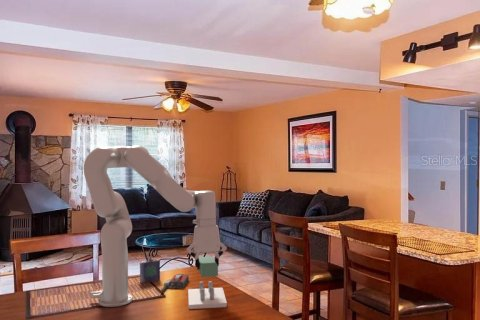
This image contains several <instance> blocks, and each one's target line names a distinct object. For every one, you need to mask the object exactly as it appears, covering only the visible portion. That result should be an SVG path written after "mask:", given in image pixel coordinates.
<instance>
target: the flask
mask: <svg viewBox="0 0 480 320" xmlns="http://www.w3.org/2000/svg"><path fill="white" fill-rule="evenodd" d="M160 280H161V260H160V259H156V258H154V259H153V258H151V256H148V257H147V261H141V262H139V282H140V283H141V284H144V283H151V282H155V281H160Z"/></svg>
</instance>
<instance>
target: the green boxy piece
mask: <svg viewBox="0 0 480 320" xmlns="http://www.w3.org/2000/svg"><path fill="white" fill-rule="evenodd" d="M198 258H199V270H198V272H199V274H200V276H201V277H202V278H210V277H219V266H218V265H217V263H216V262H215V258H213V257H212V256H198Z"/></svg>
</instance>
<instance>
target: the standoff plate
mask: <svg viewBox="0 0 480 320" xmlns="http://www.w3.org/2000/svg"><path fill="white" fill-rule="evenodd" d="M198 283H199V288H188V291H187V293H188V294H187V295H188V296H187V297H188V310H192V309H196V310H197V309H212V308H214V309H216V308H227V307H228V306H227V305H228V302H227V299H226V296H225V292H224V288H223V287H213V280H212V281H211V280H210V281H208V288H206V287H205V288H204V281H199V282H198Z"/></svg>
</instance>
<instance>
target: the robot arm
mask: <svg viewBox="0 0 480 320" xmlns="http://www.w3.org/2000/svg"><path fill="white" fill-rule="evenodd" d="M116 168H130V169H132V170H133V171H134V172H136V174H138V175H139V176H140V177H141V178H143V180H145V181H146V182H147V183H148V184H149V185H151V186H152V188H153V189H154V190H155V191H156V192H157V193H159V195H160V196H162V198H164V200H165V201H167V202H168V203H169V204H170V205H171V206H173V207H174V208H175V209H176V210H178V211H180V212H183V213H186V212H190V211H191V210H193V209H195V212H196V219H193V220H192V224H195V226H194V231H193V241H192V243H191V244H190V245H189V246H188V247H187V248H186V252H187V253H188V254H189V255H190V256H192V258H194V262H195V268H196V269H197V271H199V258H198V257H200V254H206V253H208V254H210V253H214V261H215V262H216V263H217V265H218V267H219V266H220V265H219V264H220V261H219V259H220V257H221V256H222V255H224V253H225V251H227V249H228V248H227V246H226V245H225V244H224V243H223V242H221V239H220V230H219V226H218V225H217V215H216V213H217V211H216V210H217V209H216V207H217V206H216V204H217V203H216V193H215V191H214V190H209V189H208V190H207V189H206V190H192V189H191V190H189V189H185V188H184V187H183V186H181V185H180V184H179V183H178V182H177V180H175V178H173V176H172V175H171V174H170V172H169V170H168V169H167V167H165V166H164V165H163V164H162V163H160V162H159V161H158V160H157V159H156V158H155V157H153V156H152V154H150V152H149V150H148V149H147V148H145V147H144V146H142V145H132V146H99V147H96V148H93V150H92V151H90V152H89V154H88V155H87V156H86V158H85V159H84V164H83V175H84V180H85V182H86V184H87V188H88V191H89V195H90V197H91V201H92V204H93V208H94V211H95V213H96V214H97V215H98V216H99V217H101V218H104V219H105V221H106V222H105V223H104V224H103V226H102V227H101V230H100V233H99V235H100V236H99V239H100V246H101V263H102V264H101V273H102V274H101V277H102V279H101V281H102V282H101V283H102V289H100V290H99V291H95V290H94V291H90V297H91V298H93V299H98V301H97V303H98V305H99V306H102V307H105V308H106V307H107V308H109V307H110V308H113V307H114V308H115V307H121V306H125V305H128V304H130V303H132V301H133V295H131V294H129V259H128V258H129V257H128V256H129V254H128V253H129V252H128V243H127V242H128V241H127V238H128V237H130V235H131V234H132V232H133V223H132V220H131V217H130V214H129V213H130V212H129V210H128V207H127V204H126V202H125V199H124V198H123V196H122V195H121V194H120V192H118V191H114V188H113V185H112V182H111V178H110V176H109V175H108V169H116ZM192 249H193V250H192Z"/></svg>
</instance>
